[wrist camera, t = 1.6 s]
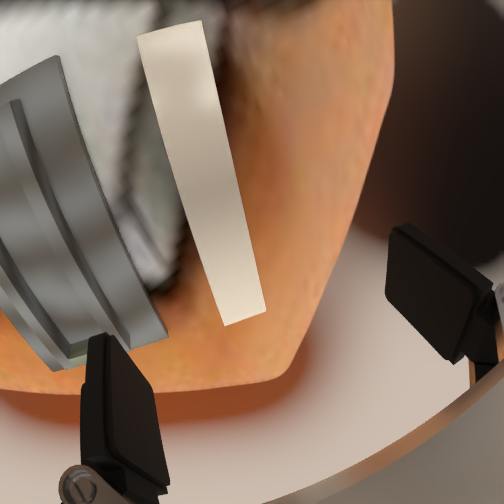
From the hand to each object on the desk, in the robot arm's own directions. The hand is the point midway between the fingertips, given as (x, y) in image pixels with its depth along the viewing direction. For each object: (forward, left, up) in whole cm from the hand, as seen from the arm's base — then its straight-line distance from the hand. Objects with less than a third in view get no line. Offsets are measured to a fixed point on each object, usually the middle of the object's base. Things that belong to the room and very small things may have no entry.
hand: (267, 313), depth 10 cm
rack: (+1, -14, -16) cm, 21 cm away
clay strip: (-1, 0, -16) cm, 16 cm away
